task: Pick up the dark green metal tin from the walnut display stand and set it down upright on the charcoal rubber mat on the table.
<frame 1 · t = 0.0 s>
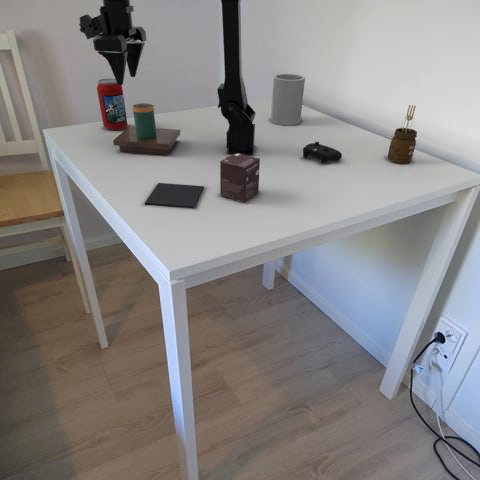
hand: (126, 80, 103), 15 cm above the table, tool pointing down, fingers open, 9 cm apart
box: (239, 195, 89), on the table
mat: (175, 195, 88), on the table
utensil holder: (398, 160, 107), on the table
stand: (149, 146, 110), on the table
tin: (146, 136, 108), point 3 cm above the table, touching stand
beverage can: (116, 128, 122), on the table
game controller: (319, 159, 107), on the table
cup: (285, 121, 131), on the table
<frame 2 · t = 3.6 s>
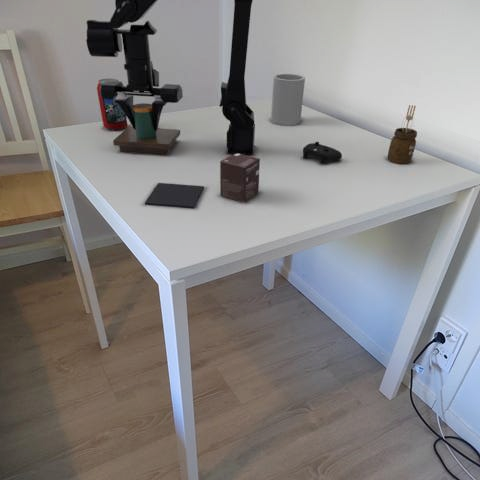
hand: (145, 129, 107), 5 cm above the table, tool pointing down, fingers closed on tin, 5 cm apart
tin: (146, 136, 108), point 3 cm above the table, touching gripper, stand
everything else where it was.
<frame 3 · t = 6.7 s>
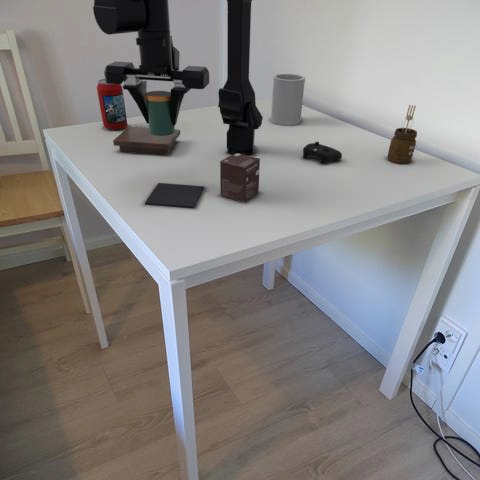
hand: (161, 124, 85), 12 cm above the table, tool pointing down, fingers closed on tin, 5 cm apart
tin: (162, 132, 86), point 11 cm above the table, touching gripper
everything else where it was.
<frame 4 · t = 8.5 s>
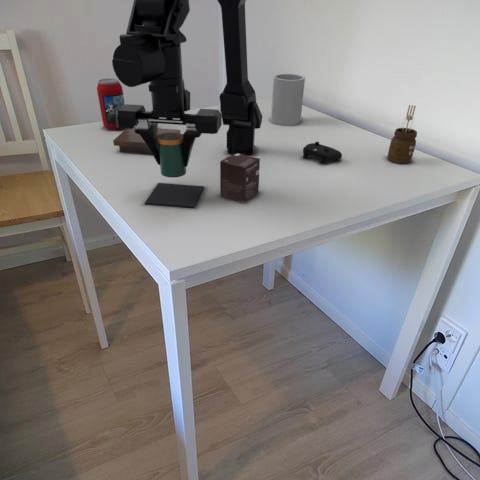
hand: (173, 165, 84), 6 cm above the table, tool pointing down, fingers closed on tin, 5 cm apart
tin: (173, 172, 85), point 5 cm above the table, touching gripper
everything else where it was.
when the fingers open (2 cm above the table, at t = 10.0 s): tin stays where it is, resting on mat.
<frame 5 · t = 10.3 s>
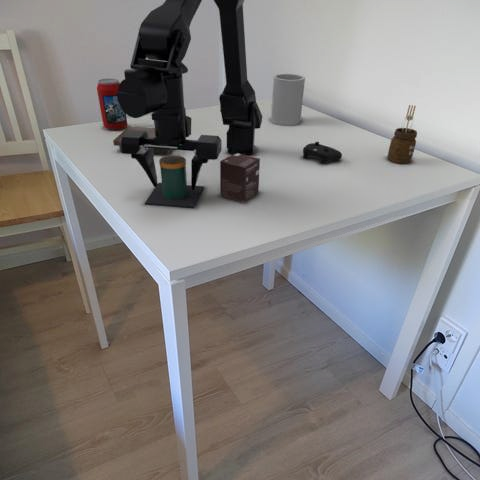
hand: (174, 187, 87), 2 cm above the table, tool pointing down, fingers open, 8 cm apart
tin: (175, 194, 88), resting on mat
everything else where it was.
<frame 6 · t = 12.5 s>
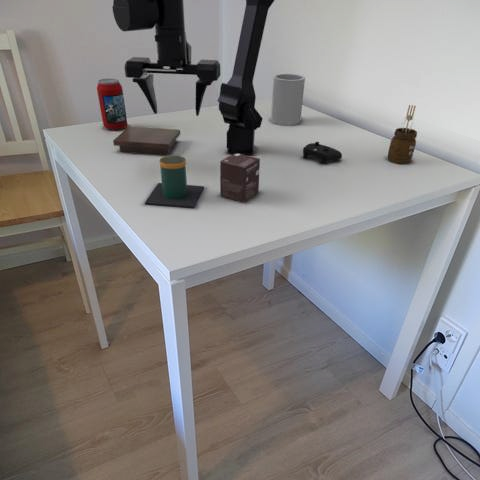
hand: (176, 114, 92), 12 cm above the table, tool pointing down, fingers open, 9 cm apart
nothing on the table moved.
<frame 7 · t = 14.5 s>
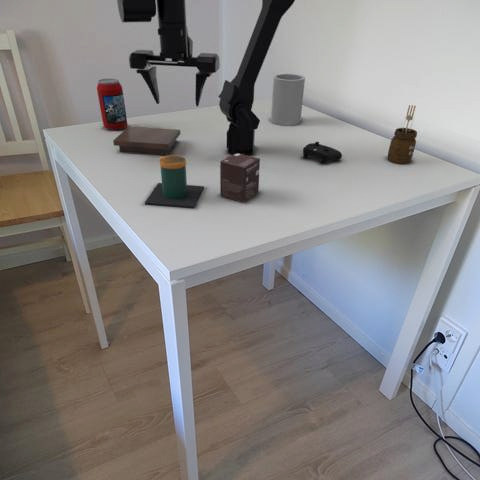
hand: (177, 104, 97), 12 cm above the table, tool pointing down, fingers open, 9 cm apart
nothing on the table moved.
at the end: tin inside the target area on the mat (0.0 cm from its centre), point 0.4 cm above the mat's base; tin tilted 0°; tin touching mat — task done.
